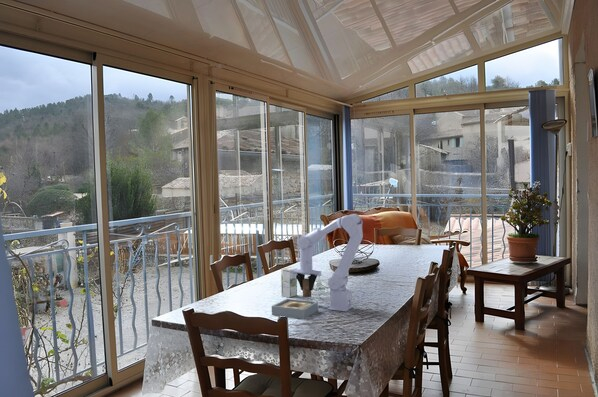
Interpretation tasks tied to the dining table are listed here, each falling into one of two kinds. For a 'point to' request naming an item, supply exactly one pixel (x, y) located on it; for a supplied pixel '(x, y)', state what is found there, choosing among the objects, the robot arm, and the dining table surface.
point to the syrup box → (288, 282)
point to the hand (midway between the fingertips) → (306, 289)
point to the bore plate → (296, 305)
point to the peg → (306, 288)
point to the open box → (294, 309)
